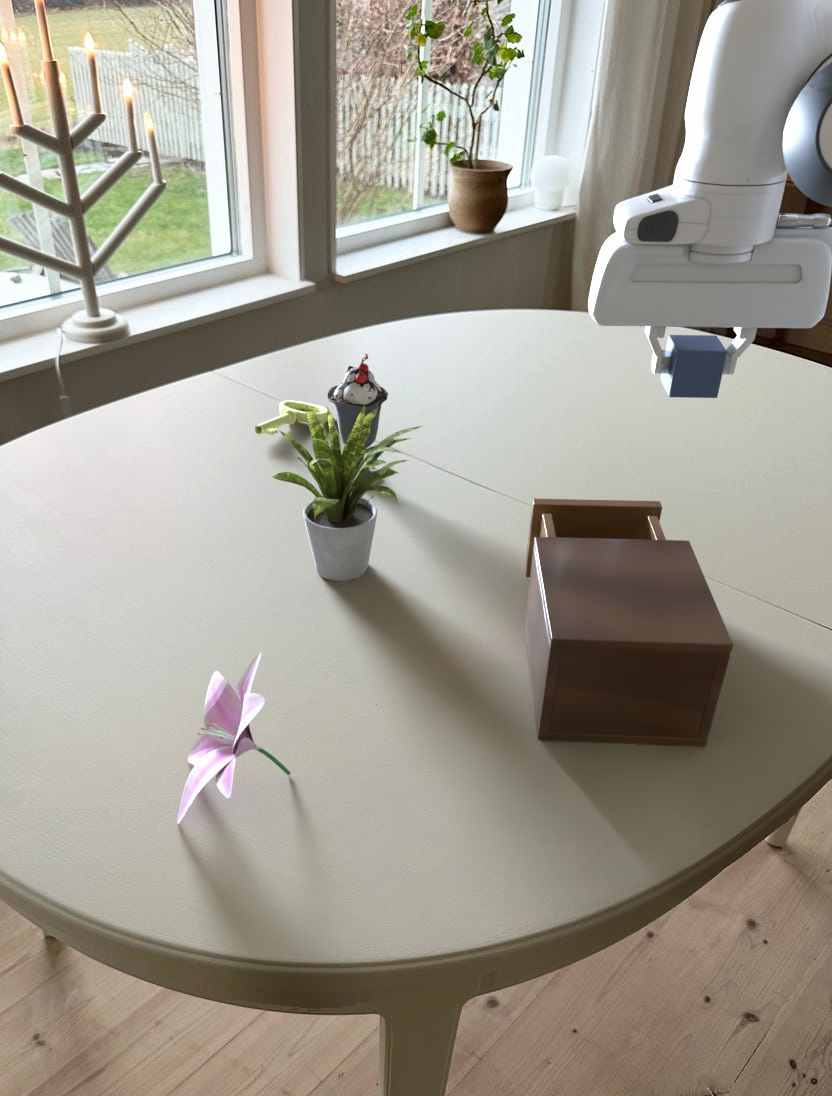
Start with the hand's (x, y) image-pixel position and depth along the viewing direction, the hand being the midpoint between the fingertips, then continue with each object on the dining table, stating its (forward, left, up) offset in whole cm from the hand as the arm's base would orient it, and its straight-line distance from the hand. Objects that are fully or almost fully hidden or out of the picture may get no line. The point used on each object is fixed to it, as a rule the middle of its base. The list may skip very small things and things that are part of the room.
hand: (691, 372), depth 89 cm
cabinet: (+9, +26, -17) cm, 32 cm away
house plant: (+32, +10, -17) cm, 38 cm away
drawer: (+9, +14, -16) cm, 23 cm away
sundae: (+32, -11, -17) cm, 38 cm away
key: (+42, -26, -17) cm, 52 cm away
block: (0, 0, -2) cm, 2 cm away
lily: (+38, +39, -17) cm, 57 cm away
